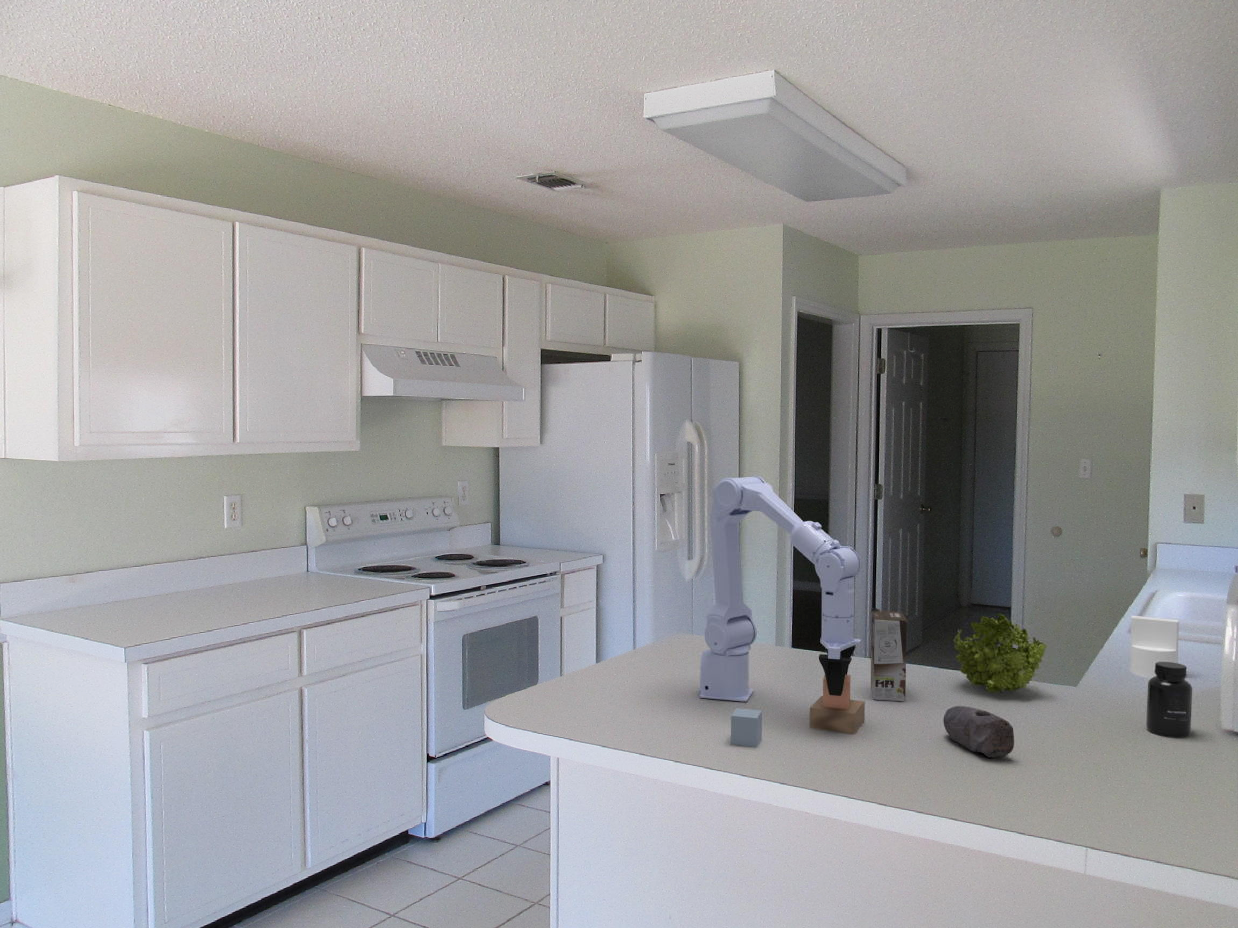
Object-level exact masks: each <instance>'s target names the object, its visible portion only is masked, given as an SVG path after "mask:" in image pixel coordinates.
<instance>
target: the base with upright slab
mask: <svg viewBox="0 0 1238 928" xmlns="http://www.w3.org/2000/svg"><path fill="white" fill-rule="evenodd" d="M1179 625H1180V621H1179V619H1173V618H1164V617H1163V618H1162V617H1155V616H1154V617H1153V616H1143V615H1142V616H1140V615H1131V616H1130V645H1129V647H1130V653H1129V654H1130V656H1129V657H1130V658H1129V673H1131V674H1132V675H1134V676H1136V677H1137V676H1138V677H1142V678H1146V679H1151V678H1152V677H1155V676H1156V674H1155V673H1154V670H1155V663H1156V662H1173V663H1179V637H1180V636H1179V635H1180V634H1179V631H1180V630H1179V629H1180V626H1179Z"/></svg>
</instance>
